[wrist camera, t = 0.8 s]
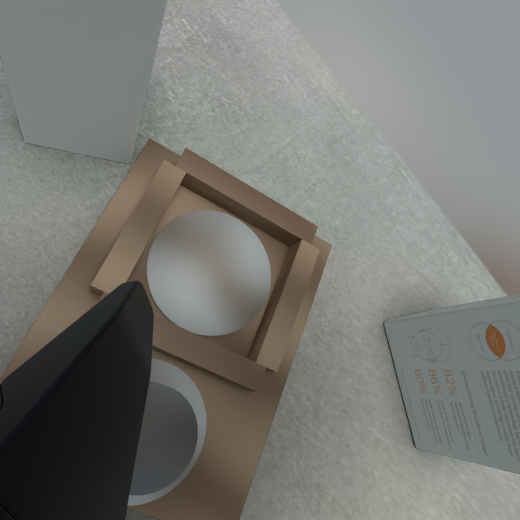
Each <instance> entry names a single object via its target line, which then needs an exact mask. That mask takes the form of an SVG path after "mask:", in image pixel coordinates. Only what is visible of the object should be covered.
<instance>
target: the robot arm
mask: <svg viewBox="0 0 520 520" xmlns="http://www.w3.org/2000/svg"><path fill="white" fill-rule="evenodd" d="M153 326H154V313H153V308H152V306H151V303H150V301H149V298H148V296H147V293H146V291H145V288H144V286H143V284H142V283H141V282H140V281H138V280H136V281H130V282H125V283H122V284H120V285H119V286H118V287H117V288H115V289H114V290H113V291H112V292H110V293H109V294H108V295H107V296H105V297H104V298H103V299H102V300H101V301H99V302H98V303H97V304H96V305H94V306H93V307H92V308H91V309H89V310H88V311H87V312H86V313H85V314H83V315H82V316H81V317H80V318H78V319H77V320H76V321H75V322H73V323H72V324H71V325H70V326H69V327H67V328H66V329H65V330H64V331H62V332H61V333H60V334H59V335H57V336H56V337H55V338H54V339H53V340H51V341H50V342H49V343H48V344H46V345H45V346H44V347H43V348H41V349H40V350H39V351H38V352H37V353H35V354H34V355H33V356H32V357H30V358H29V359H28V360H27V361H25V362H24V363H23V364H22V365H21V366H19V367H18V368H17V369H16V370H14V371H13V372H12V373H11V374H9V375H8V376H7V377H6V378H5V379H3V380H2V382H1V384H0V520H125V517H126V511H127V506H128V500H129V494H130V489H131V483H132V478H133V472H134V466H135V461H136V455H137V450H138V444H139V438H140V433H141V427H142V422H143V416H144V410H145V405H146V399H147V394H148V388H149V382H150V375H151V365H152V346H153Z"/></svg>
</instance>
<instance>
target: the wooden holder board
mask: <svg viewBox="0 0 520 520" xmlns="http://www.w3.org/2000/svg"><path fill="white" fill-rule="evenodd" d="M317 227H318V226H316V225H314V224H313V223H311V222H309V221H308V220H306V219H304V218H303V217H301V216H299V215H298V214H296V213H294V212H292V211H291V210H289V209H287V208H286V207H284V206H282V205H281V204H279V203H277V202H276V201H274V200H272V199H271V198H269V197H267V196H266V195H264V194H262V193H261V192H259V191H257V190H256V189H254V188H252V187H251V186H249V185H247V184H245V183H244V182H242V181H240V180H239V179H237V178H235V177H234V176H232V175H230V174H229V173H227V172H225V171H224V170H222V169H220V168H219V167H217V166H215V165H214V164H212V163H210V162H209V161H207V160H205V159H204V158H202V157H200V156H198V155H197V154H195V153H193V152H192V151H190V150H188V149H187V148H185V150H184V152H183V154H182V155H181V156H179V155H177V154H176V153H174V152H172V151H170V150H169V149H167V148H165V147H164V146H162V145H160V144H159V143H157V142H155V141H153V140H152V139H149V140H148V142H147V143H146V145H145V147H144V148H143V150H142V151H141V153H140V155H139V156H138V158H137V159H136V161H135V163H134V164H133V166H132V167H131V169H130V171H129V172H128V174H127V175H126V177H125V179H124V180H123V182H122V184H121V185H120V187H119V188H118V190H117V192H116V193H115V195H114V196H113V198H112V200H111V201H110V203H109V204H108V206H107V208H106V209H105V211H104V212H103V214H102V216H101V217H100V219H99V220H98V222H97V224H96V225H95V227H94V228H93V230H92V232H91V233H90V235H89V237H88V238H87V240H86V241H85V243H84V245H83V246H82V248H81V249H80V251H79V253H78V254H77V256H76V257H75V259H74V261H73V262H72V264H71V265H70V267H69V269H68V270H67V272H66V273H65V275H64V277H63V278H62V280H61V281H60V283H59V285H58V286H57V288H56V290H55V291H54V293H53V294H52V296H51V298H50V299H49V301H48V302H47V304H46V306H45V307H44V309H43V310H42V312H41V314H40V315H39V317H38V318H37V320H36V322H35V323H34V325H33V326H32V328H31V330H30V331H29V333H28V334H27V336H26V338H25V339H24V341H23V343H22V344H21V346H20V347H19V349H18V351H17V352H16V354H15V355H14V357H13V359H12V360H11V362H10V363H9V365H8V367H7V368H6V370H5V371H4V373H3V375H2V376H1V378H0V384H1V382H2V380H3V379H5V378H6V377H7V376H8V375H9V374H11V373H12V372H13V371H14V370H16V369H17V368H18V367H19V366H21V365H22V364H23V363H24V362H25V361H27V360H28V359H29V358H30V357H32V356H33V355H34V354H35V353H37V352H38V351H39V350H40V349H41V348H43V347H44V346H45V345H46V344H48V343H49V342H50V341H51V340H53V339H54V338H55V337H56V336H57V335H59V334H60V333H61V332H62V331H64V330H65V329H66V328H67V327H69V326H70V325H71V324H72V323H73V322H75V321H76V320H77V319H78V318H80V317H81V316H82V315H83V314H85V313H86V312H87V311H88V310H89V309H91V308H92V307H93V306H94V305H96V304H97V303H98V302H99V301H101V300H102V299H103V298H104V297H105V296H107V295H108V294H109V293H110V292H112V291H113V290H114V289H115V288H117V287H118V286H119V285H120V284H122V283H125V282H130V281H136V280H138V281H140V282H141V283H142V284H143V286H144V288H145V291H146V293H147V296H148V298H149V301H150V303H151V306H152V308H153V313H154V326H153V346H152V365H151V375H150V382H149V388H148V394H147V399H146V405H145V410H144V416H143V422H142V427H141V433H140V438H139V444H138V450H137V455H136V461H135V466H134V472H133V478H132V483H131V489H130V494H129V500H128V506H127V509H130V510H133V511H136V512H139V513H142V514H145V515H148V516H151V517H154V518H157V519H160V520H239V518H240V515H241V512H242V509H243V506H244V503H245V500H246V497H247V494H248V492H249V489H250V486H251V483H252V480H253V477H254V474H255V471H256V468H257V465H258V462H259V459H260V456H261V453H262V450H263V447H264V444H265V441H266V438H267V435H268V432H269V429H270V426H271V424H272V421H273V418H274V415H275V412H276V409H277V406H278V403H279V400H280V397H281V394H282V391H283V388H284V385H285V382H286V379H287V376H288V373H289V370H290V367H291V364H292V361H293V358H294V355H295V353H296V350H297V347H298V344H299V341H300V338H301V335H302V332H303V329H304V326H305V323H306V320H307V317H308V314H309V311H310V308H311V305H312V302H313V299H314V296H315V293H316V290H317V287H318V284H319V282H320V279H321V276H322V273H323V270H324V267H325V264H326V261H327V258H328V255H329V252H330V249H331V246H332V245H330V244H329V243H327V242H325V241H324V240H322V239H320V238H319V237H317V236H315V233H316V230H317Z"/></svg>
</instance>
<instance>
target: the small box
mask: <svg viewBox="0 0 520 520" xmlns="http://www.w3.org/2000/svg"><path fill="white" fill-rule="evenodd" d="M384 326H385V330H386V334H387V338H388V341H389V345H390V349H391V353H392V357H393V361H394V365H395V369H396V373H397V376H398V380H399V384H400V388H401V392H402V396H403V400H404V404H405V408H406V412H407V415H408V419H409V423H410V427H411V430H412V434H413V438H414V442H415V446H416V448H417V449H419V450H423V451H427V452H431V453H435V454H439V455H444V456H448V457H452V458H456V459H460V460H464V461H468V462H472V463H477V464H481V465H485V466H488V467H493V468H497V469H501V470H504V471H508V472H512V473H517V474H520V294H519V295H513V296H507V297H501V298H496V299H490V300H484V301H479V302H473V303H467V304H461V305H455V306H450V307H444V308H439V309H434V310H429V311H425V312H421V313H416V314H412V315H408V316H404V317H400V318H396V319H392V320H387V321H385V322H384Z"/></svg>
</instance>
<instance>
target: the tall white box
mask: <svg viewBox="0 0 520 520" xmlns="http://www.w3.org/2000/svg"><path fill="white" fill-rule="evenodd" d="M166 3H167V0H0V55H1V59H2V63H3V66H4V70H5V73H6V77H7V80H8V84H9V87H10V91H11V95H12V98H13V102H14V105H15V109H16V112H17V116H18V120H19V123H20V127H21V130H22V134H23V137H24V141H25V143H30V144H35V145H39V146H44V147H49V148H54V149H59V150H64V151H68V152H73V153H78V154H83V155H88V156H92V157H97V158H102V159H107V160H112V161H117V162H121V163H126V164H131V162H132V157H133V153H134V148H135V144H136V139H137V135H138V130H139V125H140V121H141V116H142V112H143V107H144V103H145V98H146V94H147V89H148V85H149V80H150V76H151V71H152V66H153V62H154V57H155V53H156V48H157V44H158V39H159V35H160V30H161V26H162V21H163V17H164V12H165V7H166Z"/></svg>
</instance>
